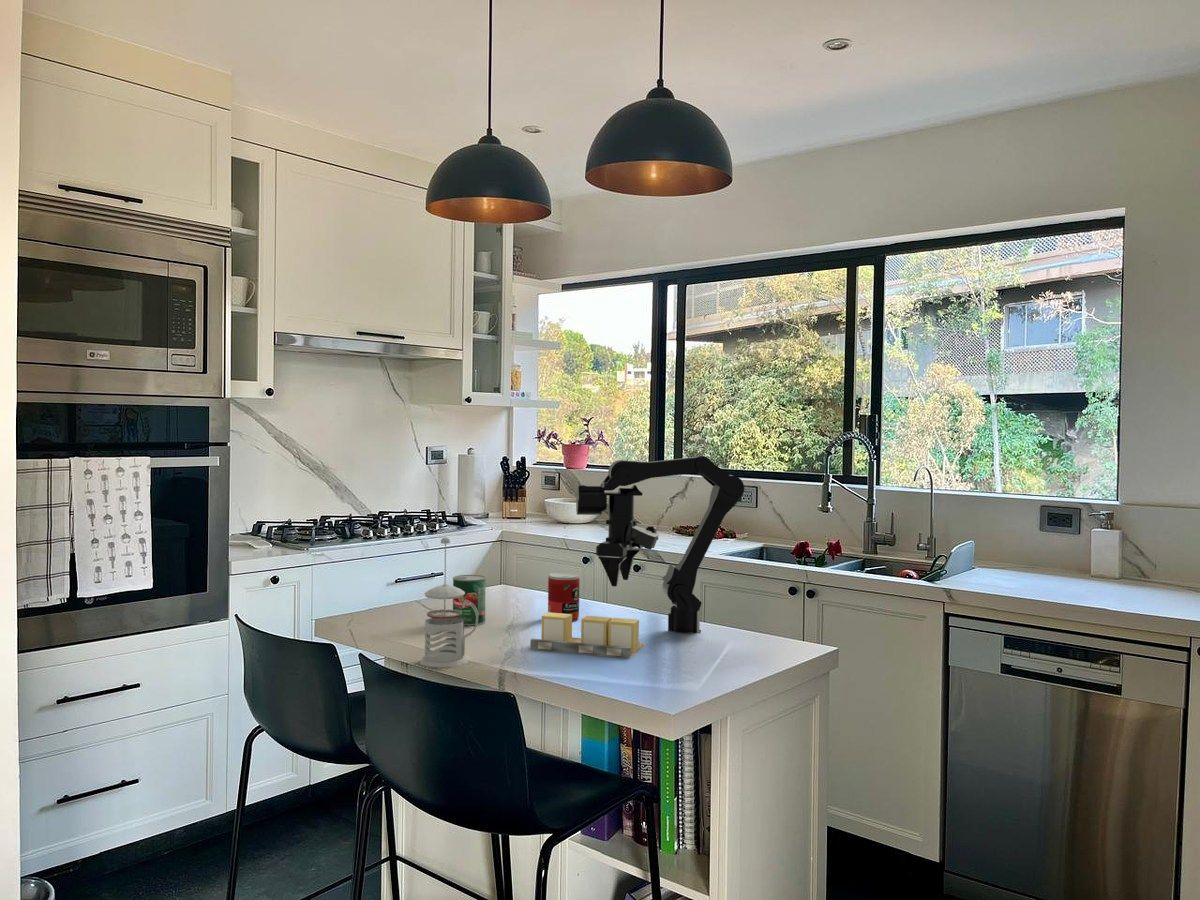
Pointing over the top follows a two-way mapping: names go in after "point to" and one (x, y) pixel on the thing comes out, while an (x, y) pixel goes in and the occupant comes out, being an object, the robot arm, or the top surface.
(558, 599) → the canned food
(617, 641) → the tea box
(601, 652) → the shelf board
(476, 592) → the canned tomato
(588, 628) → the tea box
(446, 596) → the french press
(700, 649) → the top surface
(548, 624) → the tea box turned
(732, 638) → the top surface
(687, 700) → the top surface
